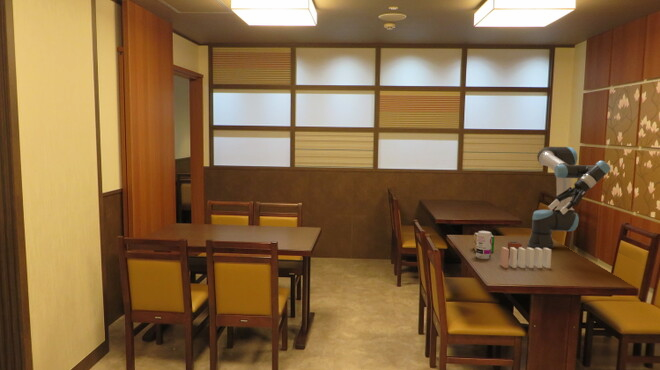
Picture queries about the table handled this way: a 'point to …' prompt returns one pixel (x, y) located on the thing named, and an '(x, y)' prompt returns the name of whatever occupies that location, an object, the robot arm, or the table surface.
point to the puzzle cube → (476, 242)
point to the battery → (515, 245)
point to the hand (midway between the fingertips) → (555, 210)
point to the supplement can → (484, 244)
